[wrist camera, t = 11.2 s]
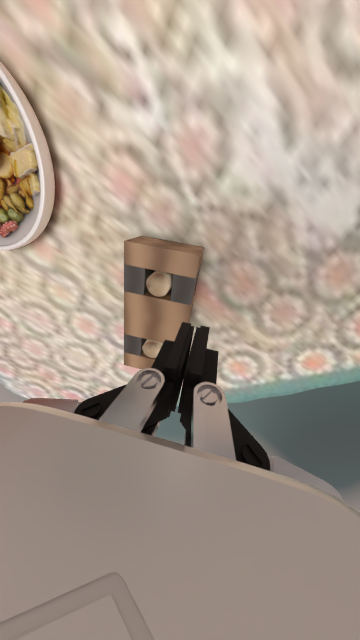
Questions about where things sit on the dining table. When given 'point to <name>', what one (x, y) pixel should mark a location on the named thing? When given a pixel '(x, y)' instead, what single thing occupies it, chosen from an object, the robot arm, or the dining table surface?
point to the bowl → (22, 169)
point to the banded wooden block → (151, 311)
